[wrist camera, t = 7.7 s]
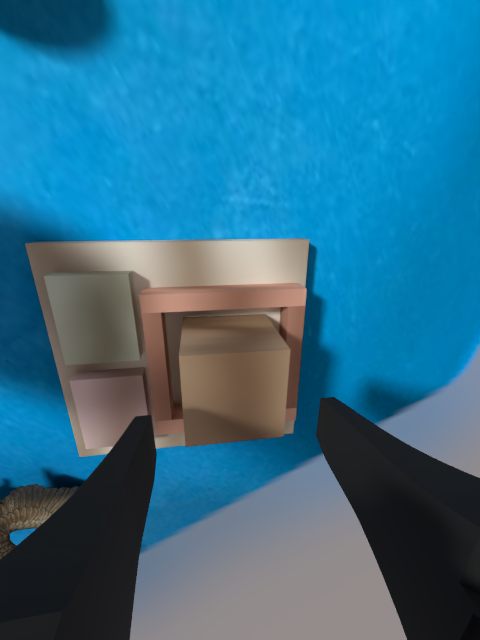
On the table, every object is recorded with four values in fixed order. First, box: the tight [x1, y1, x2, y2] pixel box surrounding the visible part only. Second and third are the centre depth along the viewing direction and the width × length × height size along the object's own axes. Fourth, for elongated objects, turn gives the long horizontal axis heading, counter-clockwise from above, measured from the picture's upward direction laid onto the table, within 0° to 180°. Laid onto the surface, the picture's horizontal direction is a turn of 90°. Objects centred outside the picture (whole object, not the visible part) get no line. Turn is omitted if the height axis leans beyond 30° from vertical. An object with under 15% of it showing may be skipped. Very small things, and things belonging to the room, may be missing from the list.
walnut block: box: [179, 314, 290, 447], centre depth 16 cm, size 5×5×5 cm
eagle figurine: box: [0, 484, 79, 559], centre depth 18 cm, size 8×7×9 cm
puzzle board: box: [25, 238, 309, 457], centre depth 18 cm, size 15×14×2 cm
